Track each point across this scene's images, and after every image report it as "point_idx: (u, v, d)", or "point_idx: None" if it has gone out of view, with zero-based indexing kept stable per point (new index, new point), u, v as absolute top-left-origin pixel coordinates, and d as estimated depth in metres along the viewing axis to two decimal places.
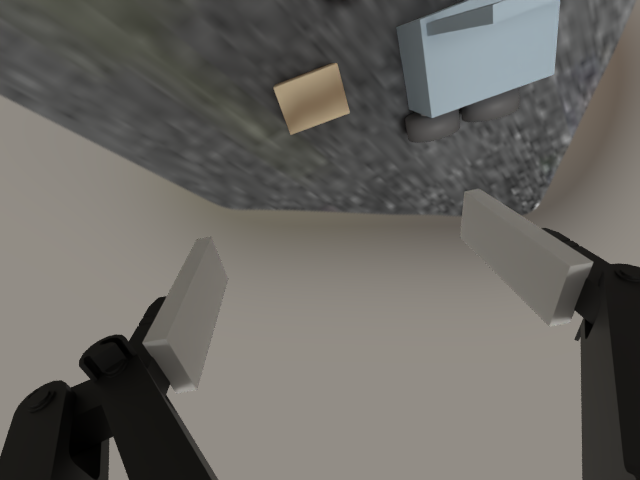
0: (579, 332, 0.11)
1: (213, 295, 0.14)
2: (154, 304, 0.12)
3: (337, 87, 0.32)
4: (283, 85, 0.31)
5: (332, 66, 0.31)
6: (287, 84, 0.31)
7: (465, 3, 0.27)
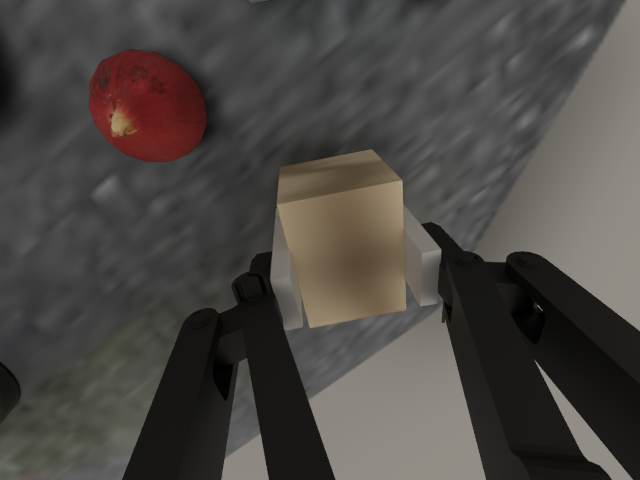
0: (443, 315, 0.12)
1: None
2: (255, 259, 0.14)
3: (331, 207, 0.12)
4: (308, 312, 0.15)
5: (282, 216, 0.12)
6: (307, 306, 0.15)
7: None
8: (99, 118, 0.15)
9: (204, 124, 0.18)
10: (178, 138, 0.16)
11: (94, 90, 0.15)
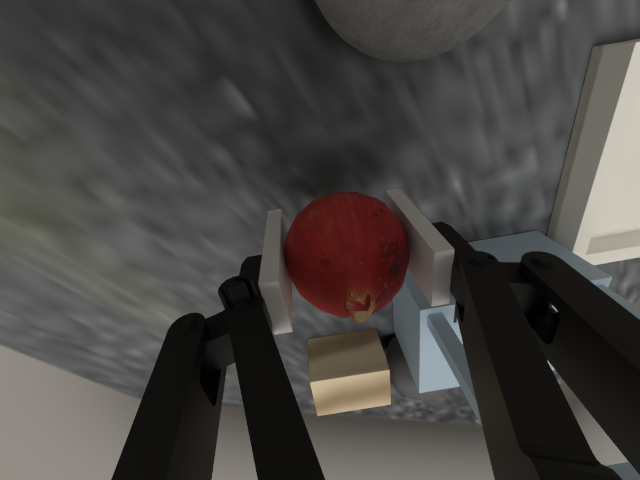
0: (455, 315, 0.12)
1: None
2: (245, 262, 0.14)
3: (384, 386, 0.27)
4: (322, 381, 0.26)
5: (383, 371, 0.26)
6: (327, 381, 0.26)
7: None
8: (360, 264, 0.11)
9: None
10: (325, 311, 0.14)
11: (387, 252, 0.12)
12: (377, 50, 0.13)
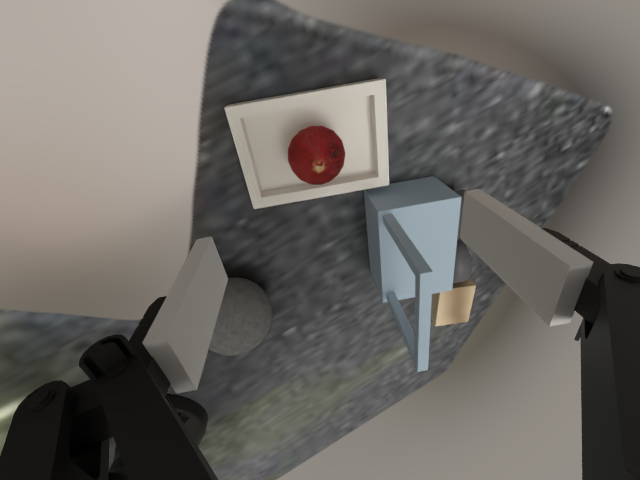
0: (579, 332, 0.11)
1: (213, 295, 0.14)
2: (154, 304, 0.12)
3: (454, 291, 0.41)
4: (437, 321, 0.44)
5: (440, 293, 0.41)
6: (437, 318, 0.44)
7: (382, 276, 0.36)
8: (319, 149, 0.27)
9: (308, 182, 0.32)
10: (305, 179, 0.30)
11: (331, 146, 0.28)
12: (269, 328, 0.40)
